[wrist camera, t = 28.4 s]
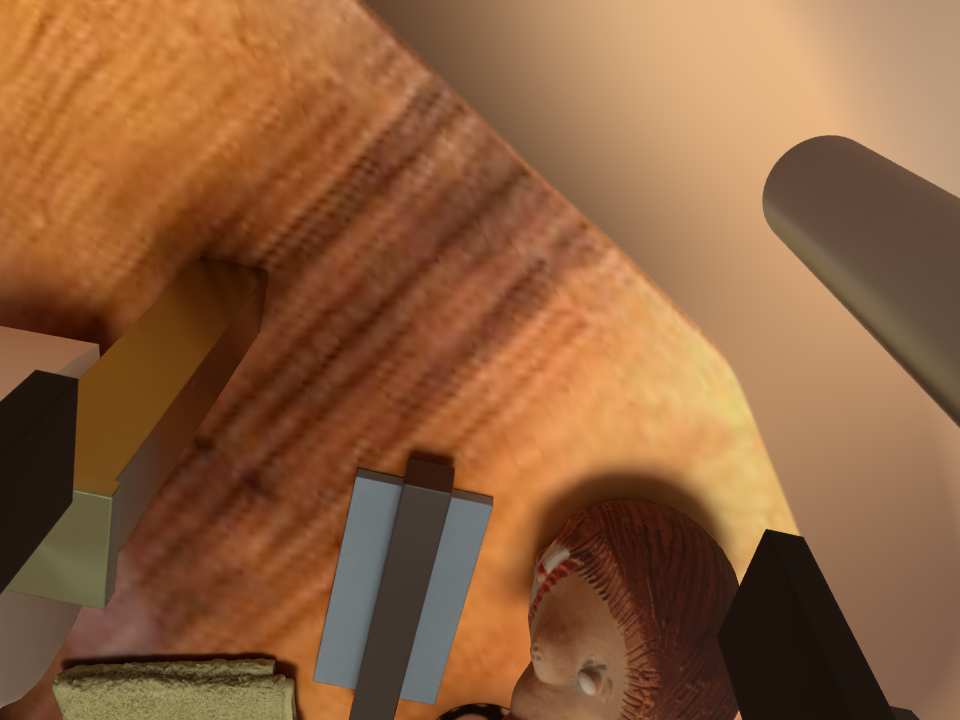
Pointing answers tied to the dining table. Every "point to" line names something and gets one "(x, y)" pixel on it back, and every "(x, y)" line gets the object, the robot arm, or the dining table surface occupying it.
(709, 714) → the figurine
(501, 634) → the dining table surface
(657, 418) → the dining table surface
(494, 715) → the white-spotted black cylinder
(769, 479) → the dining table surface
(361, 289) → the dining table surface
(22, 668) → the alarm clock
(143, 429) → the olive green post
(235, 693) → the washcloth
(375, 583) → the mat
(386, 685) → the bar
